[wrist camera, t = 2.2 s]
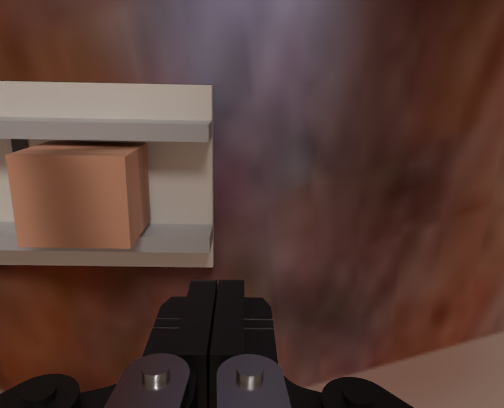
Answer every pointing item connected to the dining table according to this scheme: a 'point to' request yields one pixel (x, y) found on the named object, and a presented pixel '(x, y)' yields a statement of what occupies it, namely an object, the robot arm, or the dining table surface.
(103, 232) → the block
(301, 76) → the dining table surface
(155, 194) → the chute
